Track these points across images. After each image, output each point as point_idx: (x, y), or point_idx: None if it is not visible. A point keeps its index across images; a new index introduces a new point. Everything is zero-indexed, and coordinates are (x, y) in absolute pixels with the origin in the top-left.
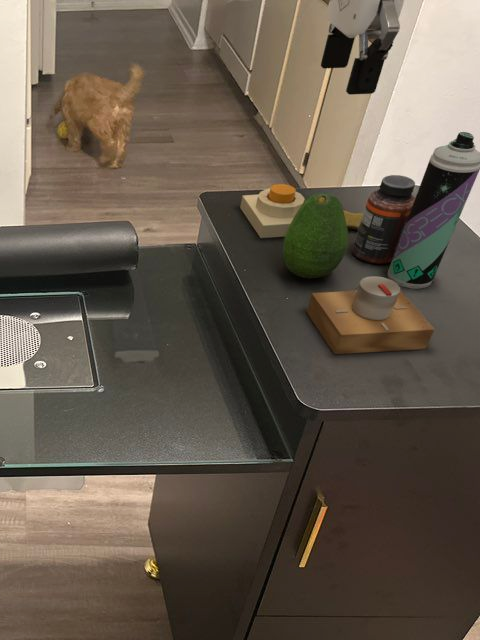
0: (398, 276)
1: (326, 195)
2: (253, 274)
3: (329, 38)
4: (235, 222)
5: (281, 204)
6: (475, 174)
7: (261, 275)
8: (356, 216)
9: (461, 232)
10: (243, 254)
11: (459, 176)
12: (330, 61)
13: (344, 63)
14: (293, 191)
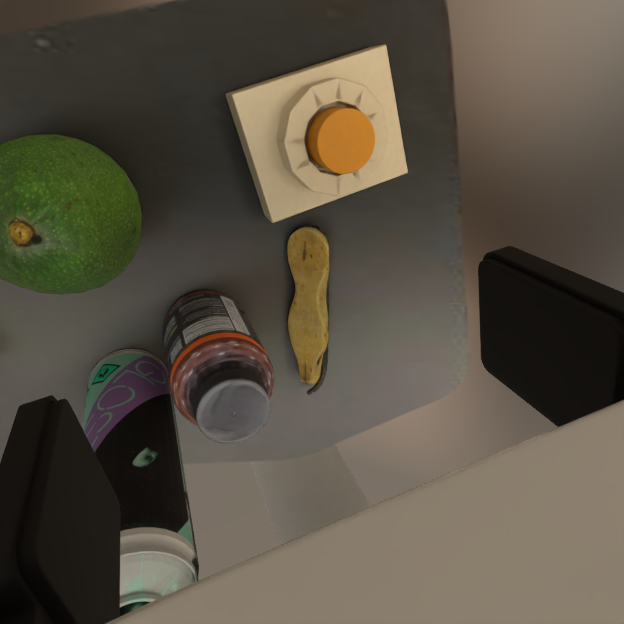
0: (96, 370)
1: (45, 248)
2: (27, 66)
3: (619, 316)
4: (296, 30)
5: (300, 139)
6: None
7: (30, 88)
8: (311, 299)
9: (318, 446)
10: (129, 44)
11: None
12: (500, 299)
13: (494, 362)
14: (336, 168)
